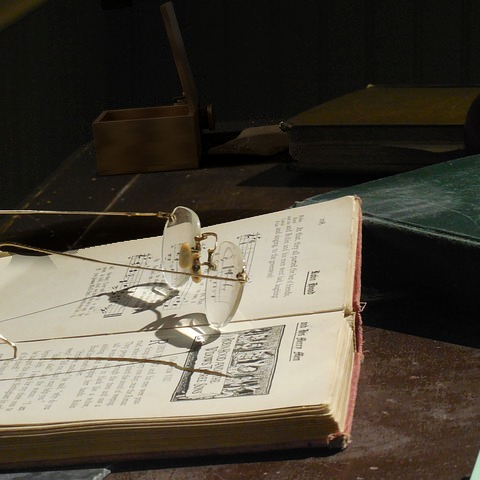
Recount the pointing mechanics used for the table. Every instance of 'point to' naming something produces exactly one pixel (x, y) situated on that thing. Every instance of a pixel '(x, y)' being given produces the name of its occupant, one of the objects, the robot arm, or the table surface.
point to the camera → (201, 117)
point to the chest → (147, 140)
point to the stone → (255, 142)
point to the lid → (180, 55)
